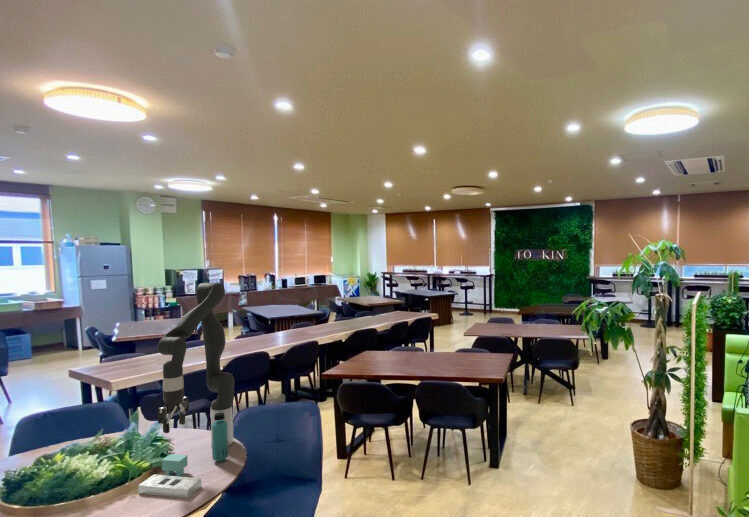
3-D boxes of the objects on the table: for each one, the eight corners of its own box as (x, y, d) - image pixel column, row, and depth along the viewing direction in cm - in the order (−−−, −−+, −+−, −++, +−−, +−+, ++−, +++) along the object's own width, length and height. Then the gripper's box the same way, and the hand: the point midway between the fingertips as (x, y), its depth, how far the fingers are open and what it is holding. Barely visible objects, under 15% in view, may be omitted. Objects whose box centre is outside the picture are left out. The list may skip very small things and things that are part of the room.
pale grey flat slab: (153, 482, 162) (153, 474, 162) (200, 486, 158) (200, 478, 158) (138, 493, 154) (138, 485, 154) (187, 498, 150) (187, 489, 150)
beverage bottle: (223, 465, 175) (222, 416, 175) (208, 463, 176) (208, 415, 176) (231, 458, 181) (230, 411, 181) (217, 456, 182) (216, 410, 183)
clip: (162, 476, 166) (161, 460, 166) (170, 470, 171) (170, 454, 171) (179, 478, 165) (179, 461, 165) (187, 471, 170) (187, 455, 170)
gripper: (178, 381, 174) (179, 420, 175) (151, 392, 161) (152, 435, 161) (193, 382, 172) (194, 422, 173) (168, 393, 159) (169, 436, 159)
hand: (174, 428), depth 167 cm, fingers open, 8 cm apart
